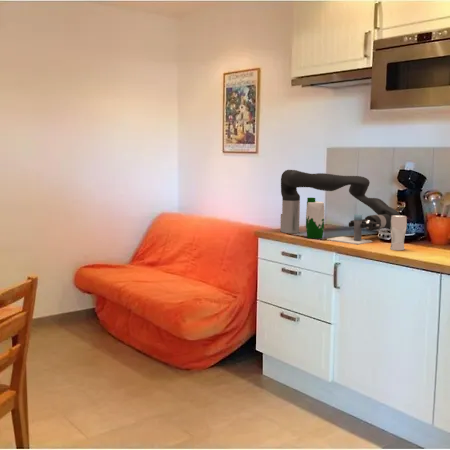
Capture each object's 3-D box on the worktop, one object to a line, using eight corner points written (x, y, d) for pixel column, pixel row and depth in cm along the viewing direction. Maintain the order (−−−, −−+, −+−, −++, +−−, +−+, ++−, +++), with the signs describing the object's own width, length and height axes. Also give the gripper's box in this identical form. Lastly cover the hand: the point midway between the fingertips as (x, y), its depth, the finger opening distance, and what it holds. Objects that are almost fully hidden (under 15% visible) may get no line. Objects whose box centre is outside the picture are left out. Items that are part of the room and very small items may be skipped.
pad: (326, 240, 283) (326, 238, 283) (341, 237, 291) (341, 236, 291) (357, 244, 270) (357, 243, 270) (372, 241, 278) (372, 240, 278)
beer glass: (390, 247, 262) (391, 214, 260) (406, 248, 260) (407, 215, 258) (388, 250, 256) (389, 216, 254) (404, 251, 253) (406, 217, 251)
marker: (351, 240, 278) (352, 214, 277) (356, 239, 281) (357, 214, 279) (358, 241, 275) (359, 215, 274) (363, 240, 278) (363, 214, 276)
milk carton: (305, 235, 296) (306, 197, 293) (323, 236, 295) (324, 197, 292) (306, 238, 287) (307, 198, 284) (324, 238, 286) (325, 198, 284)
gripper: (363, 213, 291) (342, 216, 280) (388, 216, 281) (368, 218, 269) (362, 228, 292) (342, 231, 281) (387, 231, 282) (367, 234, 270)
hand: (355, 225), depth 275 cm, fingers open, 6 cm apart
